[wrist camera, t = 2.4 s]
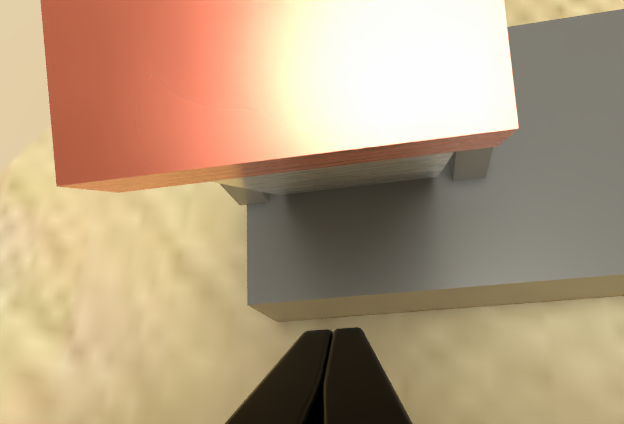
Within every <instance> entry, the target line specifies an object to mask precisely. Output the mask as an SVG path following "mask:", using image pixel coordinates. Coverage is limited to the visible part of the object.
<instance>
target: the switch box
mask: <svg viewBox="0 0 624 424" xmlns="http://www.w3.org/2000/svg"><path fill="white" fill-rule="evenodd" d="M507 32H508V41H509V49H510V58H511V67H512V75H513V84H514V93H515V101H516V110H517V119H518V127H519V129H517V130H516V131H515V132H514V133H513V134H511V135H510V136H509V137H508V138H507V139H505V140H504V141H503V142H502V143H501V144H499V145H498V146H497V147H491V148H482V149H474V150H466V151H457V152H454V153H453V155H452V156H451V158H450V159H449V161H448V162H447V164H446V165H445V167H444V168H443V170H442V171H441V173H440V174H439V176H438V177H433V178H424V179H416V180H407V181H398V182H389V183H381V184H372V185H363V186H354V187H346V188H337V189H328V190H319V191H310V192H302V193H293V194H284V195H275V194H270V193H265V192H260V191H255V190H250V189H245V188H240V187H235V186H230V185H225V184H221V186H222V187H223V188H224V189H225V190H226V191H227V192H228V193H229V194H230V195H231V196H232V197H233V198H234V199H235V201H236V202H237V203H238V204H239V205H246V204H247V288H248V305H249V306H251V307H252V308H254V309H256V310H258V311H260V312H261V313H263V314H265V315H267V316H268V317H270V318H272V319H274V320H275V321H277V322H278V321H291V320H305V319H318V318H331V317H345V316H358V315H371V314H385V313H398V312H411V311H425V310H438V309H451V308H464V307H478V306H491V305H504V304H518V303H531V302H544V301H558V300H571V299H584V298H597V297H611V296H624V9H621V10H615V11H608V12H602V13H595V14H589V15H582V16H576V17H569V18H563V19H557V20H550V21H544V22H537V23H531V24H524V25H518V26H511V27H507Z"/></svg>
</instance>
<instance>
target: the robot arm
mask: <svg viewBox="0 0 624 424" xmlns="http://www.w3.org/2000/svg"><path fill="white" fill-rule="evenodd" d="M225 424H413V423H412V422H411V420H410V418H409V416H408V414H407V412H406V410H405V409H404V407H403V405H402V403H401V401H400V399H399V397H398V396H397V394H396V392H395V390H394V388H393V386H392V384H391V383H390V381H389V379H388V377H387V375H386V373H385V371H384V370H383V368H382V366H381V364H380V362H379V360H378V358H377V357H376V355H375V353H374V351H373V349H372V347H371V345H370V343H369V342H368V340H367V338H366V336H365V334H364V332H363V331H362V330H361V328H357V327H356V328H342V329H336V330H335V331H334V332H332V331H331V330H314V331H306V332H305V333H303V334H302V335H301V337H300V338H299V339H298V340H297V341H296V342H295V343H294V345H293V346H292V347H291V348H290V349H289V350H288V351H287V353H286V354H285V355H284V356H283V357H282V358H281V360H280V361H279V362H278V363H277V364H276V365H275V366H274V368H273V369H272V370H271V371H270V372H269V373H268V374H267V376H266V377H265V378H264V379H263V380H262V381H261V383H260V384H259V385H258V386H257V387H256V388H255V389H254V391H253V392H252V393H251V394H250V395H249V396H248V397H247V399H246V400H245V401H244V402H243V403H242V404H241V406H240V407H239V408H238V409H237V410H236V411H235V412H234V414H233V415H232V416H231V417H230V418H229V419H228V421H227V422H226V423H225Z"/></svg>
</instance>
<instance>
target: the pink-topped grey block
mask: <svg viewBox="0 0 624 424" xmlns="http://www.w3.org/2000/svg"><path fill="white" fill-rule="evenodd" d="M41 10H42V21H43V33H44V44H45V55H46V66H47V67H46V68H47V79H48V90H49V102H50V114H51V125H52V137H53V148H54V160H55V171H56V183H57V186H59V187H69V188H79V189H89V190H99V191H109V192H126V191H135V190H143V189H151V188H159V187H168V186H176V185H184V184H193V183H201V182H209V181H210V182H215V183H220V184H225V185H230V186H235V187H240V188H245V189H250V190H255V191H260V192H265V193H270V194H275V195H284V194H293V193H302V192H310V191H319V190H328V189H337V188H346V187H354V186H363V185H372V184H381V183H389V182H398V181H407V180H416V179H424V178H433V177H438V176H439V174H440V173H441V171H442V170H443V168H444V167H445V165H446V164H447V162H448V161H449V159H450V158H451V156H452V155H453V153H454V152H457V151H466V150H474V149H482V148H491V147H497V146H498V145H499V144H501V143H502V142H503V141H504V140H505V139H507V138H508V137H509V136H510V135H511V134H513V133H514V132H515V131H516V130H517V129H519V127H518V119H517V110H516V101H515V93H514V84H513V75H512V67H511V58H510V49H509V41H508V32H507V23H506V15H505V6H504V0H41Z"/></svg>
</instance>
